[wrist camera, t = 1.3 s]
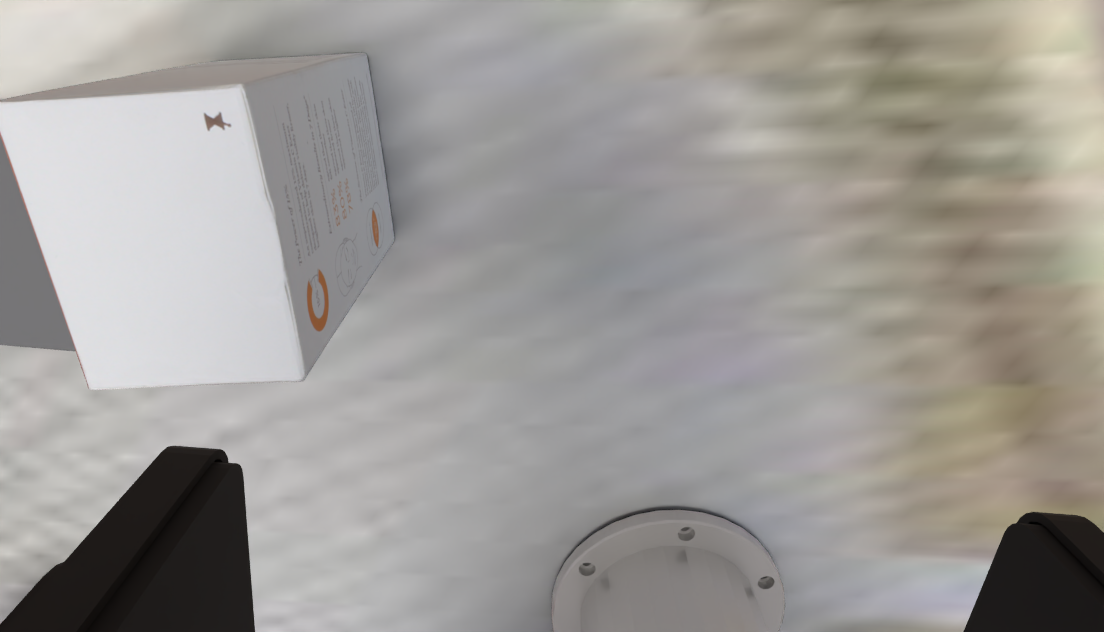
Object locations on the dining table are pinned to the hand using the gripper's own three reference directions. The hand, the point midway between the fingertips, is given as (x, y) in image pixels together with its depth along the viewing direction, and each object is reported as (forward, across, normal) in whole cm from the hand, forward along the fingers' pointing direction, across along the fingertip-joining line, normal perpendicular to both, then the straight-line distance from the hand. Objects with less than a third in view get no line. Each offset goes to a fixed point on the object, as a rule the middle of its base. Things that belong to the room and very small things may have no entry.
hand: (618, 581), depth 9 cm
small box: (+24, +11, 0) cm, 27 cm away
